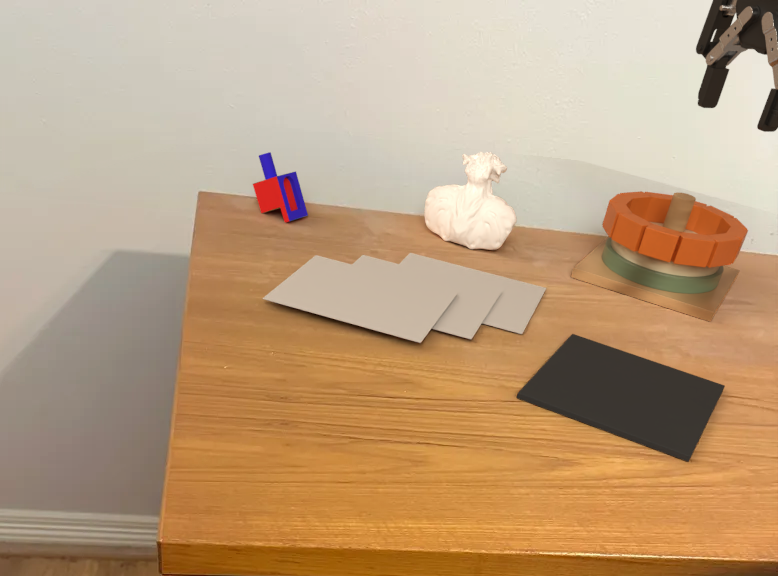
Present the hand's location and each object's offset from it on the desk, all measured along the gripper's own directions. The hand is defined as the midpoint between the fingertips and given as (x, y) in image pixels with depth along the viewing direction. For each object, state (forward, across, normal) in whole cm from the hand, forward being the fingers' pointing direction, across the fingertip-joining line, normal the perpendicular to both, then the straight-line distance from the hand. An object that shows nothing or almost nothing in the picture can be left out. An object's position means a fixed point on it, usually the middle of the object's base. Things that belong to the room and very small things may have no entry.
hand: (735, 118), depth 88 cm
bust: (+20, +22, +15) cm, 33 cm away
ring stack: (+20, +7, -4) cm, 22 cm away
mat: (+20, -16, +20) cm, 33 cm away
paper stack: (+20, +7, +30) cm, 37 cm away
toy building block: (+20, +32, +36) cm, 52 cm away
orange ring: (+15, +7, -4) cm, 17 cm away
